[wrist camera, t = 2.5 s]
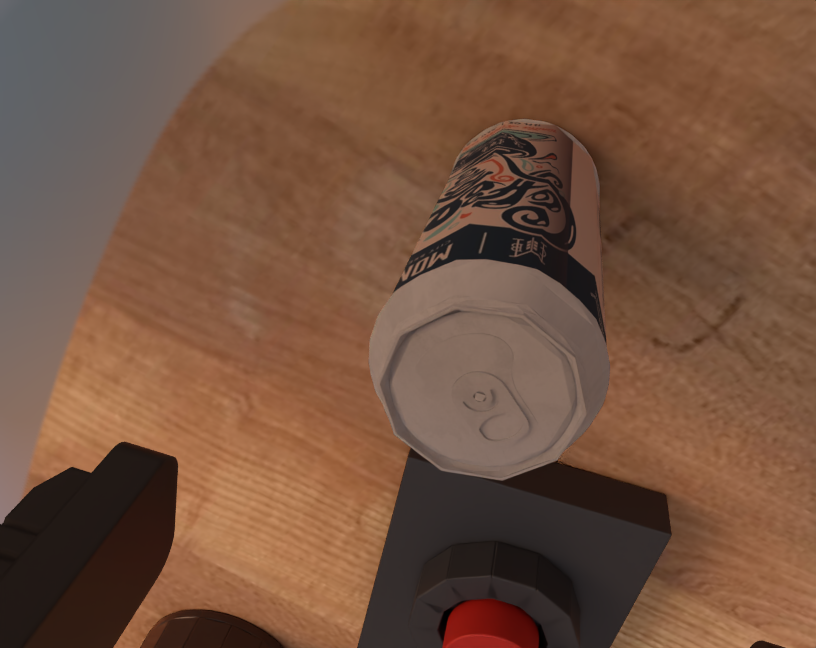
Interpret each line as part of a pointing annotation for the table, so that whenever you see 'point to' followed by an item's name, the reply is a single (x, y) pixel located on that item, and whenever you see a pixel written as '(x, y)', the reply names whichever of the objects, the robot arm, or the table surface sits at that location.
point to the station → (514, 553)
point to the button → (490, 626)
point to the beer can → (500, 309)
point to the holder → (206, 632)
